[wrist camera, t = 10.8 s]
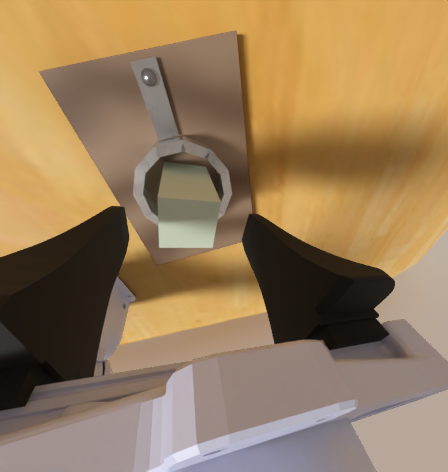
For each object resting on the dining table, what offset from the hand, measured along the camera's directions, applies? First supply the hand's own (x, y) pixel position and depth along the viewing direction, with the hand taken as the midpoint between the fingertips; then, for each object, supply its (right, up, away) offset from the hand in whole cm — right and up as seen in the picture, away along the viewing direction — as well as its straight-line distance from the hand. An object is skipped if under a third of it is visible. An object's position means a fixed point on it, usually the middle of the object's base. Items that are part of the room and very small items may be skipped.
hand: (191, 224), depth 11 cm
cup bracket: (-2, +5, +9) cm, 11 cm away
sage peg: (-2, +5, +8) cm, 10 cm away
